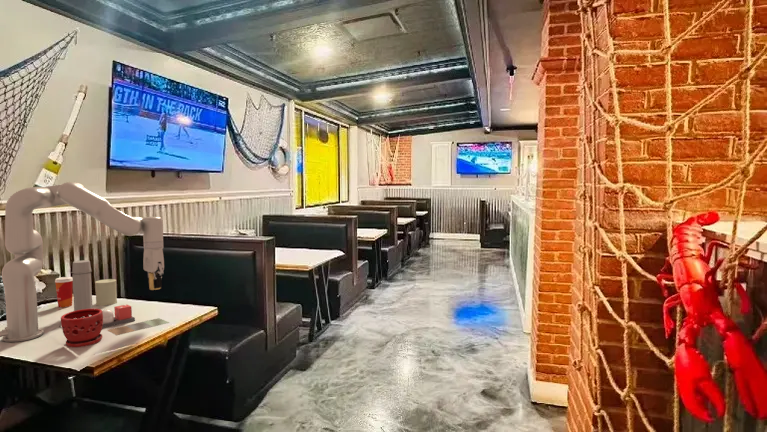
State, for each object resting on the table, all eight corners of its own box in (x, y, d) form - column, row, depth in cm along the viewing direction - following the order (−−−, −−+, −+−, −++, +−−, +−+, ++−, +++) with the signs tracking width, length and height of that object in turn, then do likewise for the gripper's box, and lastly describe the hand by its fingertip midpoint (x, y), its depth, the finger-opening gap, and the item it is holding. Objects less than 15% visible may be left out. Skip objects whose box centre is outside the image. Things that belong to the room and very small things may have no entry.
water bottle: (92, 315, 203) (89, 262, 201) (71, 317, 199) (69, 263, 198) (95, 310, 211) (93, 259, 209) (75, 312, 208) (73, 260, 206)
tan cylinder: (152, 290, 188) (151, 274, 187) (147, 288, 191) (147, 272, 190) (162, 288, 191) (162, 272, 191) (158, 287, 194) (157, 271, 193)
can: (121, 301, 227) (120, 278, 227) (105, 306, 218) (104, 282, 218) (107, 300, 230) (106, 277, 229) (91, 304, 221) (90, 281, 220)
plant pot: (71, 339, 172) (70, 309, 171) (109, 336, 175) (108, 307, 174) (55, 351, 159) (53, 319, 159) (95, 348, 162) (94, 316, 162)
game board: (116, 336, 175) (116, 335, 175) (107, 331, 181) (106, 329, 181) (169, 323, 192) (169, 322, 191) (159, 319, 198) (159, 318, 198)
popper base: (99, 330, 183) (98, 313, 182) (92, 326, 188) (91, 310, 187) (134, 322, 194) (134, 306, 193) (127, 318, 198) (127, 303, 198)
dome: (101, 328, 184) (100, 312, 184) (96, 325, 188) (95, 309, 187) (116, 324, 189) (115, 309, 188) (110, 322, 192) (110, 307, 192)
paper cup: (59, 304, 221) (58, 277, 220) (77, 303, 224) (75, 276, 223) (52, 308, 214) (51, 280, 213) (71, 307, 216) (70, 279, 215)
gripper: (136, 244, 192) (137, 285, 193) (153, 248, 181) (155, 291, 183) (153, 242, 198) (155, 282, 199) (171, 246, 187) (173, 288, 188)
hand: (155, 286), depth 191 cm, fingers closed on tan cylinder, 4 cm apart
